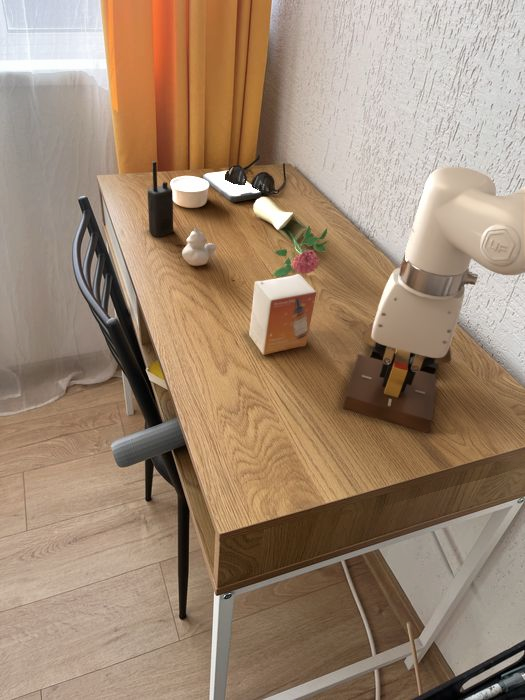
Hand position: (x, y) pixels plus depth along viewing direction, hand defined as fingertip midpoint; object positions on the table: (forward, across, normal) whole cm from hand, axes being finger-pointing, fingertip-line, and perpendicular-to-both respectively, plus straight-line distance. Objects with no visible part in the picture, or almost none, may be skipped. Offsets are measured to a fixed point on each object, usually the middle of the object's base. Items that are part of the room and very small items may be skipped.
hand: (394, 382), depth 76 cm
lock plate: (+3, 0, 0) cm, 3 cm away
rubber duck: (+3, +40, -23) cm, 46 cm away
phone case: (+3, +47, -60) cm, 76 cm away
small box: (+3, +19, -6) cm, 20 cm away
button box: (+3, -1, -11) cm, 11 cm away
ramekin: (+3, +53, -48) cm, 72 cm away
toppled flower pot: (+3, +26, -34) cm, 43 cm away
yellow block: (0, 0, 0) cm, 0 cm away
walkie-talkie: (+3, +52, -31) cm, 61 cm away
